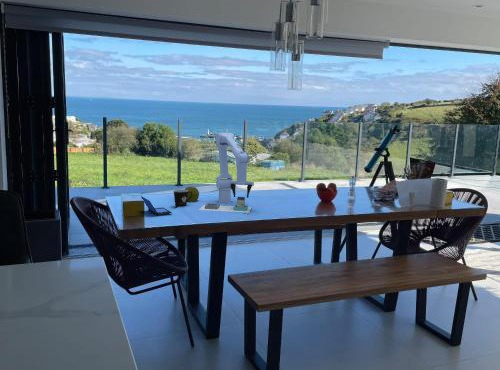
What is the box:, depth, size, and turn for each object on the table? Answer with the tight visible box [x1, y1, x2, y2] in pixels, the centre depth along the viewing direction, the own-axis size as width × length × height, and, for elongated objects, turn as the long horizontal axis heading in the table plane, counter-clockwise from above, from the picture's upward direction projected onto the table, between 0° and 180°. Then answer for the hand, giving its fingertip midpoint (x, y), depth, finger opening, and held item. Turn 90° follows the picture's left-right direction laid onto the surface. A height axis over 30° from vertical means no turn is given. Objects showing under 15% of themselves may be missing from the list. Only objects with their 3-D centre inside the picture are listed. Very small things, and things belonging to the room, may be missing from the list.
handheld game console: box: [140, 195, 173, 217], centre depth 260 cm, size 16×13×9 cm
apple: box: [184, 186, 200, 203], centre depth 290 cm, size 10×10×11 cm
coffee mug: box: [173, 188, 192, 209], centre depth 276 cm, size 12×9×10 cm
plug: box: [236, 196, 246, 208], centre depth 270 cm, size 4×4×7 cm
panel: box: [198, 202, 253, 215], centre depth 272 cm, size 14×29×3 cm, turn 83°
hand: (241, 197), depth 270 cm, fingers open, 7 cm apart
